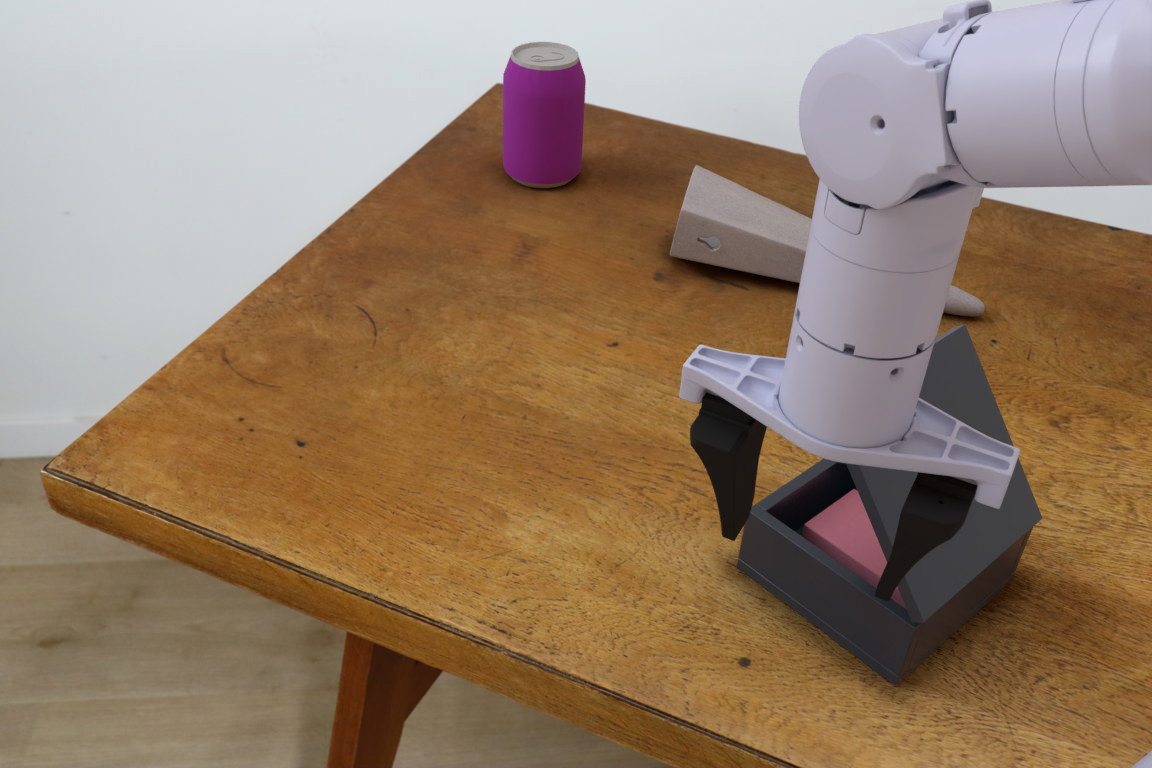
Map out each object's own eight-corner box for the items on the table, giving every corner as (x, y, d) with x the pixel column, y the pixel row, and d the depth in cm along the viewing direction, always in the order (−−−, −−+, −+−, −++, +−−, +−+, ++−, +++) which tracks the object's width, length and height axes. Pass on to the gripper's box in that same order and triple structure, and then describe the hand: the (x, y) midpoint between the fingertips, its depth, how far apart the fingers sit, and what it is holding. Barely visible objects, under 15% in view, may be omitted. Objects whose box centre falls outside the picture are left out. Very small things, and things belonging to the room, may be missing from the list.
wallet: (957, 583, 66) (965, 559, 65) (908, 625, 63) (916, 601, 62) (847, 511, 70) (853, 487, 69) (798, 547, 68) (803, 523, 66)
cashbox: (736, 567, 67) (746, 509, 64) (855, 482, 74) (870, 426, 71) (895, 687, 61) (915, 628, 58) (1011, 581, 67) (1034, 524, 64)
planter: (996, 227, 94) (701, 149, 96) (1003, 276, 87) (684, 191, 89) (962, 302, 99) (681, 227, 101) (966, 355, 92) (664, 272, 94)
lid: (823, 409, 57) (834, 407, 56) (954, 326, 63) (965, 323, 63) (911, 622, 58) (923, 623, 57) (1031, 519, 64) (1043, 518, 64)
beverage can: (524, 198, 104) (526, 74, 97) (489, 164, 109) (488, 45, 102) (595, 182, 107) (602, 62, 100) (558, 151, 112) (562, 34, 105)
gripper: (1065, 325, 45) (979, 558, 54) (736, 232, 51) (703, 457, 59) (1034, 417, 40) (944, 659, 49) (672, 303, 46) (646, 539, 54)
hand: (809, 555), depth 53 cm, fingers open, 7 cm apart
